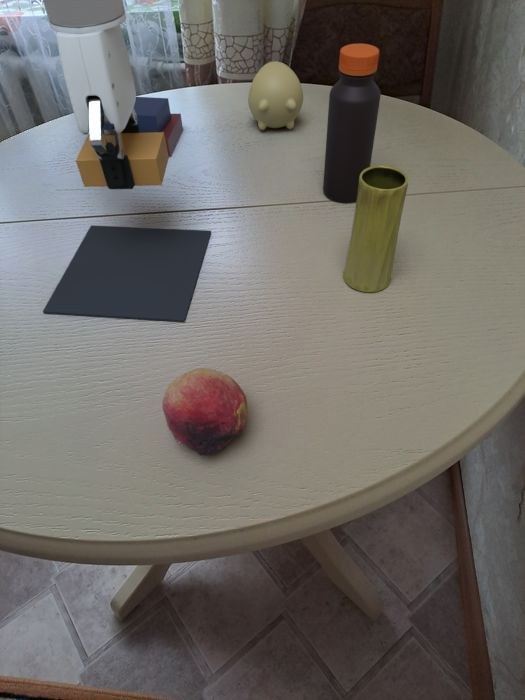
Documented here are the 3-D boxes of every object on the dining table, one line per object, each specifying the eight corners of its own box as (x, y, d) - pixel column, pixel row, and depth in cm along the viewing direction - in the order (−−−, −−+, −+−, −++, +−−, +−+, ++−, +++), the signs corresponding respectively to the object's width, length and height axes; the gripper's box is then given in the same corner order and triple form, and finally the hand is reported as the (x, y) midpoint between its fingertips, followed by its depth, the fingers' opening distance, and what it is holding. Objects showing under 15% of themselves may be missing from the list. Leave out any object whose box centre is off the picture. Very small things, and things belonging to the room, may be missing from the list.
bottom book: (93, 154, 88) (88, 138, 86) (111, 127, 95) (106, 111, 92) (170, 156, 87) (167, 140, 84) (183, 129, 93) (180, 113, 91)
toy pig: (299, 141, 96) (298, 85, 96) (306, 112, 84) (305, 49, 84) (248, 141, 96) (247, 85, 96) (248, 113, 84) (247, 49, 84)
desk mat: (43, 313, 62) (42, 311, 62) (91, 227, 74) (91, 225, 74) (184, 322, 61) (184, 320, 60) (211, 232, 72) (211, 230, 72)
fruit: (244, 397, 53) (239, 347, 47) (254, 461, 48) (250, 415, 42) (171, 407, 52) (156, 359, 46) (173, 473, 47) (158, 429, 41)
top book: (84, 187, 61) (75, 160, 58) (96, 159, 65) (88, 133, 62) (161, 185, 60) (156, 158, 58) (169, 157, 65) (164, 131, 62)
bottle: (373, 200, 76) (395, 56, 61) (330, 207, 75) (343, 63, 60) (357, 177, 81) (375, 38, 65) (317, 183, 80) (325, 43, 65)
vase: (390, 295, 63) (413, 194, 52) (341, 291, 63) (354, 190, 52) (390, 264, 66) (411, 164, 56) (344, 260, 67) (356, 161, 56)
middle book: (99, 133, 87) (93, 112, 84) (114, 114, 91) (109, 94, 89) (159, 136, 85) (155, 116, 83) (171, 118, 90) (168, 97, 87)
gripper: (69, -19, 55) (112, 139, 69) (18, 36, 44) (81, 212, 57) (137, -22, 55) (166, 137, 68) (103, 33, 43) (146, 210, 57)
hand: (127, 170), depth 63 cm, fingers closed on top book, 6 cm apart
